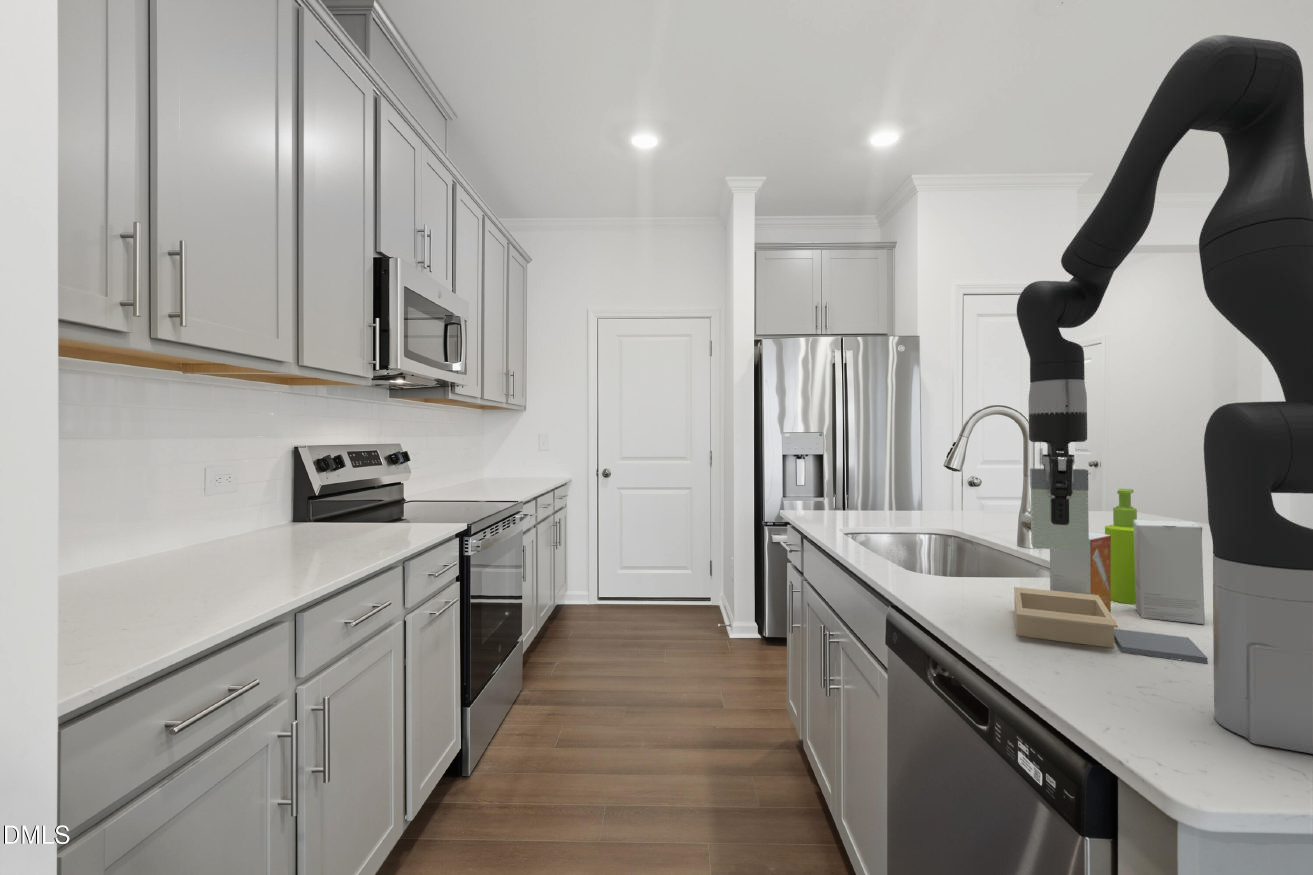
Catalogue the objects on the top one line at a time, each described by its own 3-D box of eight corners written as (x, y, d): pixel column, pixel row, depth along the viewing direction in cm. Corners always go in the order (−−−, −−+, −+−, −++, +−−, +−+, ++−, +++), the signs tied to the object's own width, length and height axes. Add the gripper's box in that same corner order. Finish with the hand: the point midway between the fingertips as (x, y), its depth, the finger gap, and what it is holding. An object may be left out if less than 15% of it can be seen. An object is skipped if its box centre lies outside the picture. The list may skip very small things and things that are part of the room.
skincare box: (1197, 615, 100) (1196, 521, 100) (1206, 626, 95) (1205, 526, 95) (1133, 608, 105) (1132, 517, 105) (1138, 618, 99) (1137, 522, 99)
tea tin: (1089, 551, 90) (1088, 470, 90) (1032, 547, 93) (1031, 469, 93) (1085, 546, 94) (1083, 468, 94) (1030, 543, 97) (1029, 468, 97)
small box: (1091, 619, 99) (1090, 539, 99) (1048, 610, 104) (1048, 534, 104) (1112, 610, 103) (1111, 534, 103) (1070, 602, 109) (1070, 529, 109)
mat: (1207, 663, 79) (1207, 657, 79) (1121, 652, 84) (1121, 646, 84) (1188, 642, 87) (1188, 637, 87) (1110, 633, 92) (1110, 628, 92)
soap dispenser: (1148, 598, 111) (1147, 488, 111) (1144, 606, 106) (1143, 491, 106) (1108, 592, 115) (1107, 487, 115) (1103, 600, 110) (1102, 489, 110)
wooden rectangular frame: (1118, 654, 83) (1117, 625, 83) (1017, 641, 89) (1017, 613, 89) (1098, 619, 98) (1098, 595, 98) (1014, 610, 104) (1013, 586, 104)
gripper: (1093, 408, 86) (1095, 530, 85) (1080, 412, 98) (1082, 518, 98) (1031, 409, 89) (1032, 526, 89) (1026, 414, 102) (1027, 516, 101)
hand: (1058, 521), depth 93 cm, fingers closed on tea tin, 4 cm apart
